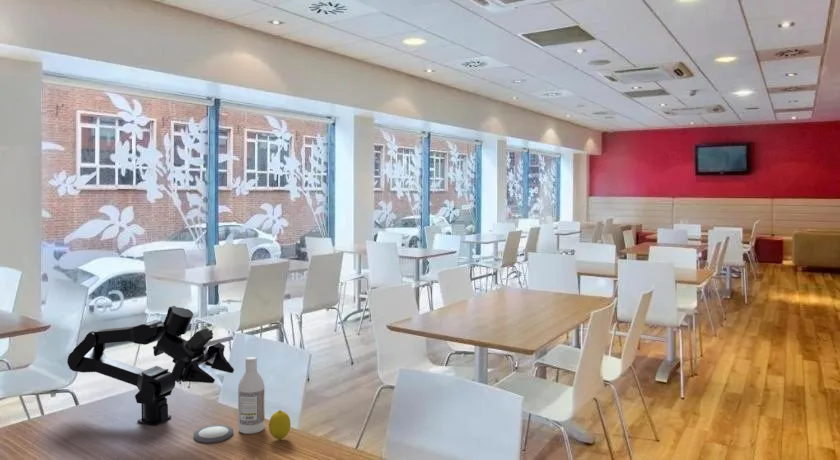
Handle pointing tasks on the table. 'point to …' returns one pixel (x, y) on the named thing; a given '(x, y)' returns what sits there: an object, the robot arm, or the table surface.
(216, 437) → the dock pad
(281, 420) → the lemon
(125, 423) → the table surface
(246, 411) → the bath foam
